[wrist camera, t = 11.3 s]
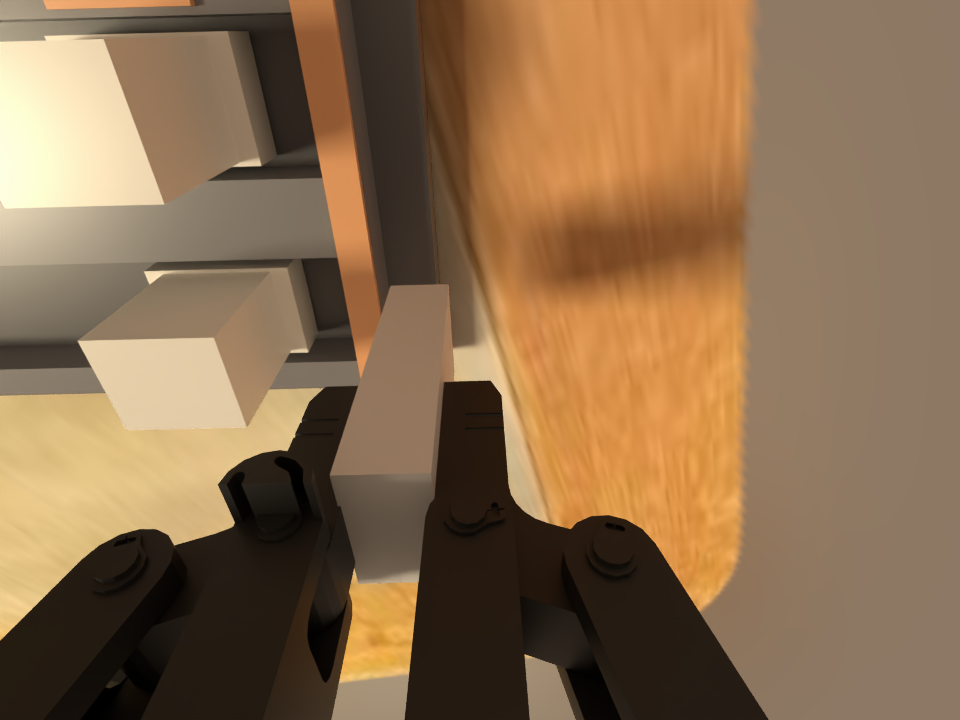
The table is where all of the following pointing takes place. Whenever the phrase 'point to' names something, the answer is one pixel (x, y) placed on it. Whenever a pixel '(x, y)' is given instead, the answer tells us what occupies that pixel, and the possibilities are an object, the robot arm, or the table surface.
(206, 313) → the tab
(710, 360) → the table surface
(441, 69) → the table surface
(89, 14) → the slotted block puzzle
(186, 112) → the tab mid
